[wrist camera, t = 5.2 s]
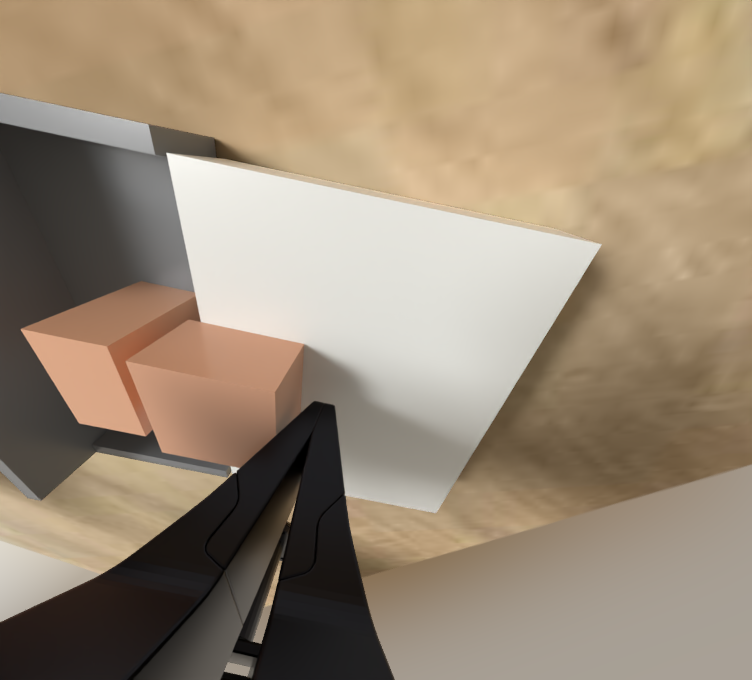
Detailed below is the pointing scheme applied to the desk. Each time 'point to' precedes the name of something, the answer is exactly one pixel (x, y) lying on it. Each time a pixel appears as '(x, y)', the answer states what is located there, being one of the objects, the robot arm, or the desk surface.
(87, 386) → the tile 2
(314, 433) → the robot arm
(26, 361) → the tray
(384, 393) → the board
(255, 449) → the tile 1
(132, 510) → the desk surface
